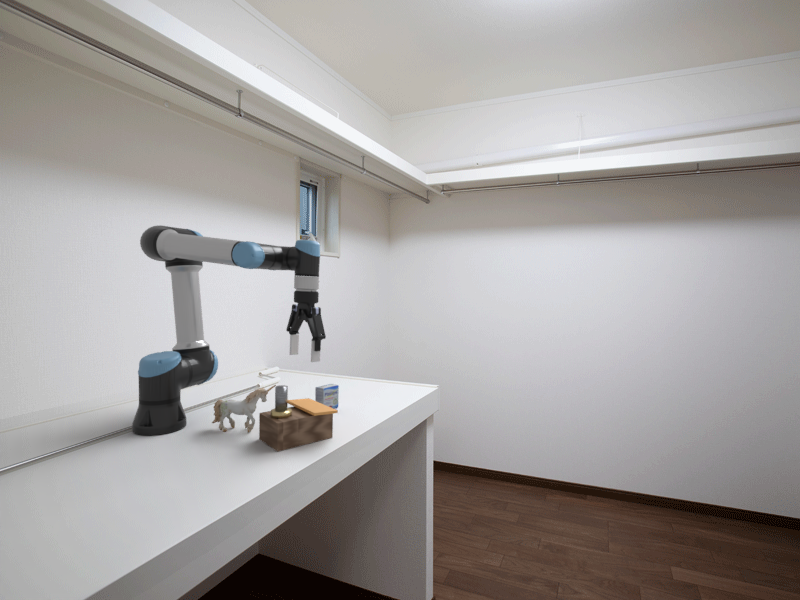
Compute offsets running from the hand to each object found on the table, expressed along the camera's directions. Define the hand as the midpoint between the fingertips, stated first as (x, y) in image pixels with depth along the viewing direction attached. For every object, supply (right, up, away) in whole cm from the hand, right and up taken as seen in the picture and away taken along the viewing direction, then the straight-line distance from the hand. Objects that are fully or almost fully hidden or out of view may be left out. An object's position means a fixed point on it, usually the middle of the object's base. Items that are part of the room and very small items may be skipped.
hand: (304, 358), depth 139 cm
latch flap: (+3, -15, -2) cm, 15 cm away
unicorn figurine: (-20, -23, +4) cm, 31 cm away
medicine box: (+3, -23, +27) cm, 35 cm away
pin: (-5, -23, -8) cm, 25 cm away
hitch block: (-1, -24, -5) cm, 24 cm away
